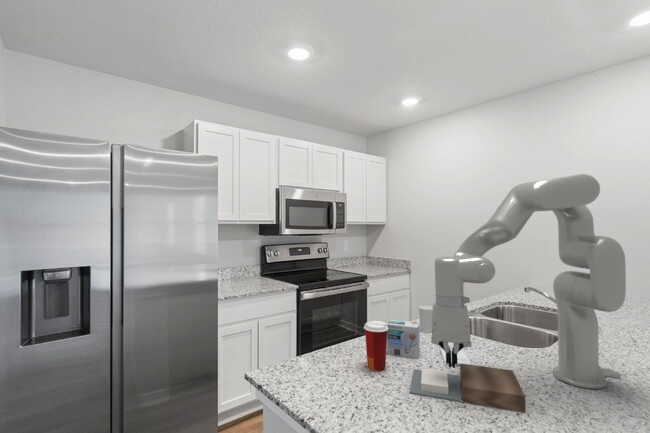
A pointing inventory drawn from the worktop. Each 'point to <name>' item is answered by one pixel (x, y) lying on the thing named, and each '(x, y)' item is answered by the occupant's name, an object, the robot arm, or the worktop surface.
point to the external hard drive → (461, 357)
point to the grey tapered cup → (425, 319)
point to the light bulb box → (403, 338)
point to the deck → (491, 387)
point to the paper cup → (376, 345)
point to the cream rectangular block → (434, 381)
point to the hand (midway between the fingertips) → (451, 365)
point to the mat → (452, 393)
